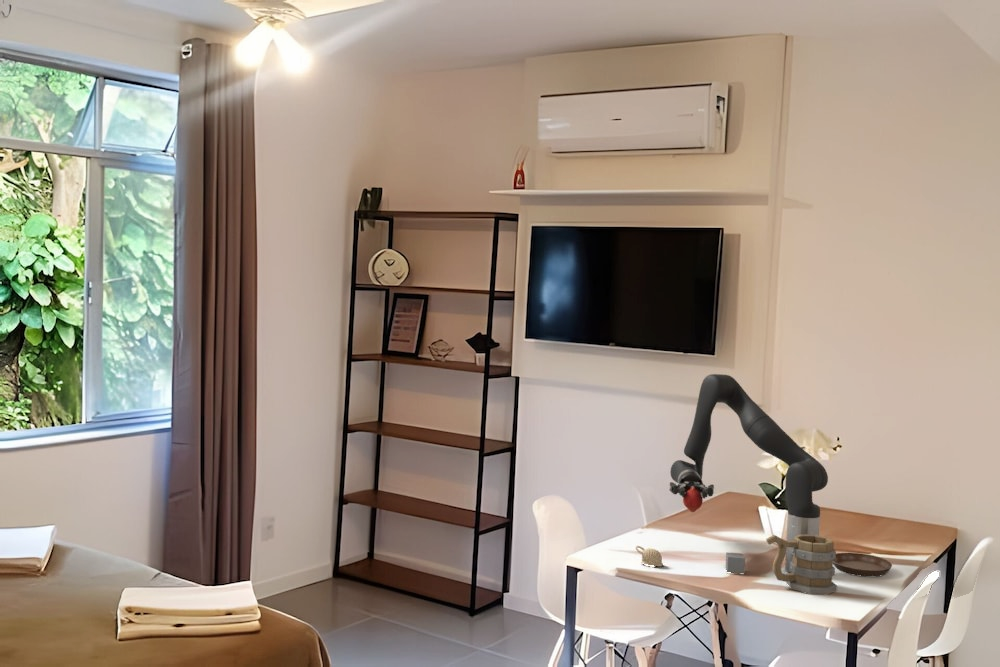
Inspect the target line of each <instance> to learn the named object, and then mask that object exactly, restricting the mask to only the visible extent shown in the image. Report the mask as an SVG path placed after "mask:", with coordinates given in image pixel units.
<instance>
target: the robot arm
mask: <svg viewBox="0 0 1000 667" xmlns="http://www.w3.org/2000/svg"><path fill="white" fill-rule="evenodd" d="M718 403H719V404H720V403H721V404H722V403H723V404H725V405H727V406H728V407H729V408H731V410H732V411H733V412H735V414H736V415H737V417H738V418H739V421H740V425H741V428H742V430H743V432H744V433H745V435H746V436H747V437H748V438H749V440H751V441H752V442H753V443H754V444H755V446H756V447H758V448H759V449H761V450H762V451H764V452H765V453H767V454H769V455H770V456H773V457H774V458H776V459H778V460H780V461H782V462H783V463H785V464H786V465H787V466H788V468H787V470H786V474H785V504H786V506H787V520H786V523H787V526H786V539H785V540H786V541H793V540H794V537H795V536H798V535H814V536H815V535H817V536H820V523H821V522H820V520H821V518H820V517H821V508H820V506H819V505H818V504H816V503H814V502H813V492H818V491H821V490H823V489H825V488H826V486H827V485H828V482H829V476H828V475H829V474H828V472H827V471H826V468H825V467H824V465H823V464H822V463H821V462H819V460H817V459H816V458H814V457H813V456H812V455H811V454H810V453H808V452H807V451H806V450H805V449H803V448H802V447H801V446H800V445H799V444H797V442H796V441H794V440H793V438H792V437H790V436H789V434H787V432H785V431H784V430H783V429H782V427H780V426H779V425H778V423H776V421H775V420H774V419H773V418H772V417H770V416H769V415H768V414H767V413H766V412H765V411H764V410H763V409H762V408H761V406H759V405H758V404H757V403H756V402H755V401H754V400H753V399H752V398H751V397H750V395H748V393H747V392H746V391H745V390H744V388H743V387H742V386H741V385H740V383H739V382H738V381H737V380H736V379H735V378H734V377H732V376H731V375H729V374H718V373H713V374H711V373H710V374H708V375H706V376H705V377H704V379H703V380H702V382H701V385H700V389H699V393H698V397H697V403H696V409H695V414H694V419H693V422H692V427H691V430H690V433H689V435H688V438H687V440H686V443H685V446H684V448H683V449H684V450H683V454H684V455H685V456H686V457H687V458H689V459H690V460H691V461H693V462H694V463H695V464H693V463H692V462H691V463H690V462H687V461H685V460H676V461H674V462H673V463H672V465H671V467H670V472H669V473H670V477H671V479H672V480H673V482H672V481H671V482H669V491H670V492H671V494H673V495H677V494H678V495H679V496H681V497H682V498H683V497H685V493H686V492H687V491H688V490H690V489H691V488H690V487H692V486H693V487H695V489H696V490H697V491H698V492H699V493H700V494H701V496H702V499H706V498H708V497H713V495H714V494H715V493H714V490H715V485H714V484H711V483H710V484H709V485H708V486H706V485H705V484H704V483H703V480H702V479H703V470H704V469H703V468H704V467H703V466H704V460H705V456H706V453H707V451H708V448H709V445H710V442H711V439H712V425H711V424H712V414H713V411H714V409H715V407H716V405H717V404H718ZM676 483H677V484H676ZM790 551H791V547H786V554H785V562H784V565H785V566H784V569H785V571H786V572H787V571H788V573H789V574H791V573H792V571H791V570H790V562H791V561H792V560H793V555H792V554H791V553H790Z"/></svg>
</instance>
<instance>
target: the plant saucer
mask: <svg viewBox="0 0 1000 667" xmlns="http://www.w3.org/2000/svg"><path fill="white" fill-rule="evenodd" d="M892 566H893V564H892V563H891V562H890V561H889V560H887V559H885V558H883V557H880V556H876V555H871V554H867V553H859V552H840V553H836V557H835V559H833V567H834V568H835V569H837V570H838V571H840V572H842V573H845V574H850V575H852V574H854V575H853V576H857V575H861V576H860V577H866V576H876V577H881V576H880V575H882V576H885V574H886V573H888V572H889V571H890V570H891V568H892Z"/></svg>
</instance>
